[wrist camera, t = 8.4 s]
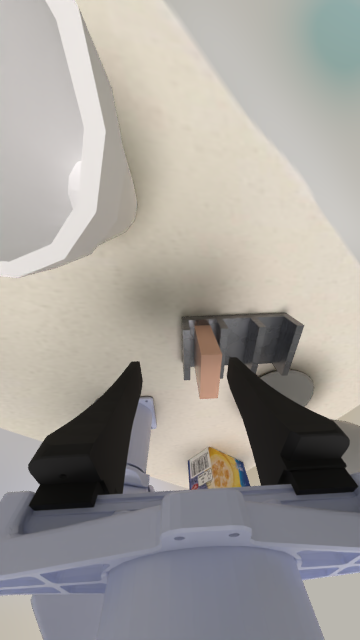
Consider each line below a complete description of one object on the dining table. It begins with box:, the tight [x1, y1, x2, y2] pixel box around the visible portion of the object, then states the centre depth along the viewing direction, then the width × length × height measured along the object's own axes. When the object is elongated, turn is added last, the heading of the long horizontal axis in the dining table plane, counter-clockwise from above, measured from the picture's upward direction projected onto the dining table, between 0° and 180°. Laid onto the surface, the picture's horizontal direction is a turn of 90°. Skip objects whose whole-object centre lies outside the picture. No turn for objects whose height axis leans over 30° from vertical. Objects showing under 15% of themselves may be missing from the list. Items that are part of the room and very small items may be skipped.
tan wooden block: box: [194, 325, 222, 399], centre depth 20 cm, size 2×6×6 cm, turn 1°
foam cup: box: [0, 0, 138, 278], centre depth 10 cm, size 10×9×13 cm
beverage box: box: [188, 447, 250, 490], centre depth 28 cm, size 7×11×22 cm, turn 50°
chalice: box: [260, 370, 360, 475], centre depth 22 cm, size 14×14×15 cm
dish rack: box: [182, 313, 304, 380], centre depth 22 cm, size 14×8×4 cm, turn 92°
